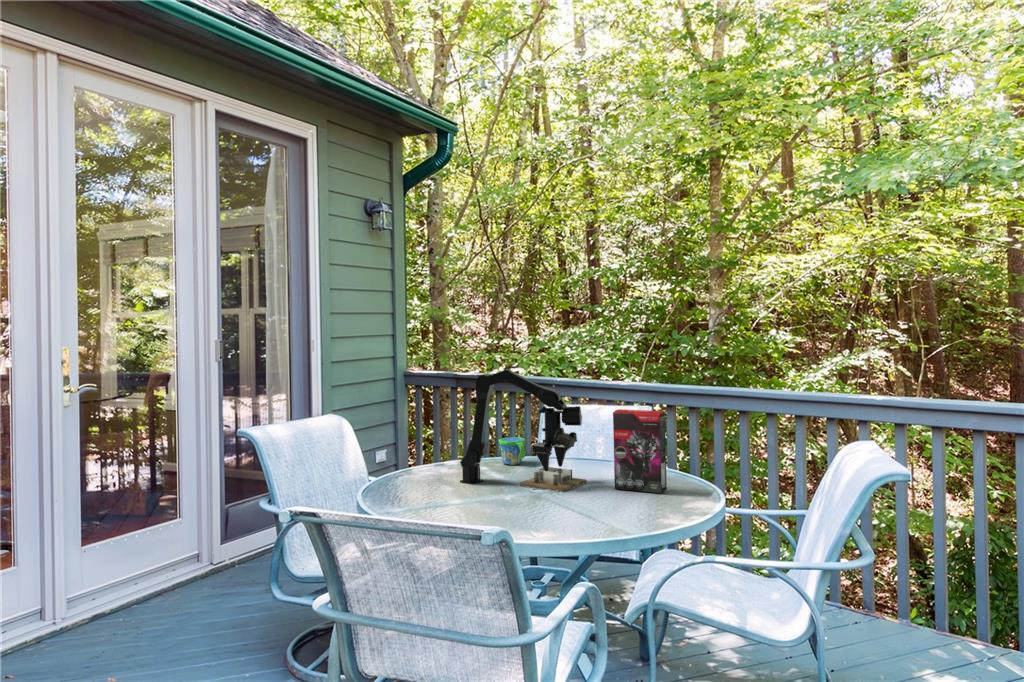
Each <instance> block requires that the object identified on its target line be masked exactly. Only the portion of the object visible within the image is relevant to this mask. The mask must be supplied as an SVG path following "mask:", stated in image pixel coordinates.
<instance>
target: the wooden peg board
mask: <svg viewBox="0 0 1024 682" xmlns="http://www.w3.org/2000/svg"><path fill="white" fill-rule="evenodd" d="M569 470H571V481H569V482H566V483H564V484H558V475H556V474H555V475H553V483H547V482H540V481H539V472H535V471H534V473H533V474H534V476H533V477H531V478H529V479H526V480H523V481H520V482H519V486H520V485H522V486H521V487H526V486H529V487H528V488H532V487H536V488H535V489H539V488H543V489H542V490H546V489H550V490H549V491H553V490H558V491H557V492H560V491H564V492H567V491H569V490H568V489H570V490H571V488H572V489H574V488H573V487H575V488H577V487H579V486H578V485H580V486H582V485H584V484H583V483H585V484H587V483H586V482H588V480H587V479H586V478H579V477H573V469H571V468H569ZM581 484H582V485H581ZM576 486H577V487H576ZM566 490H567V491H566Z"/></svg>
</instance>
